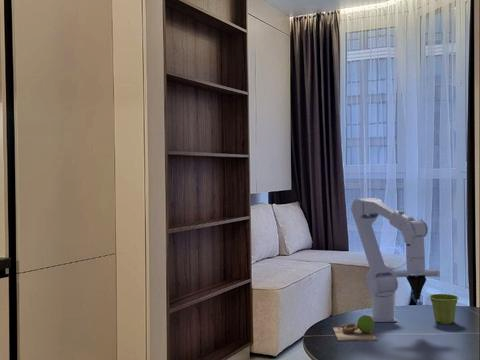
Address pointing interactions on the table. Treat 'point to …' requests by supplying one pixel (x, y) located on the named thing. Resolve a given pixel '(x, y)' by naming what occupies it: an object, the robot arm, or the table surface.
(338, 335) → the cork mat
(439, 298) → the plant pot
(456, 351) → the table surface
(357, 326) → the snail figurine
